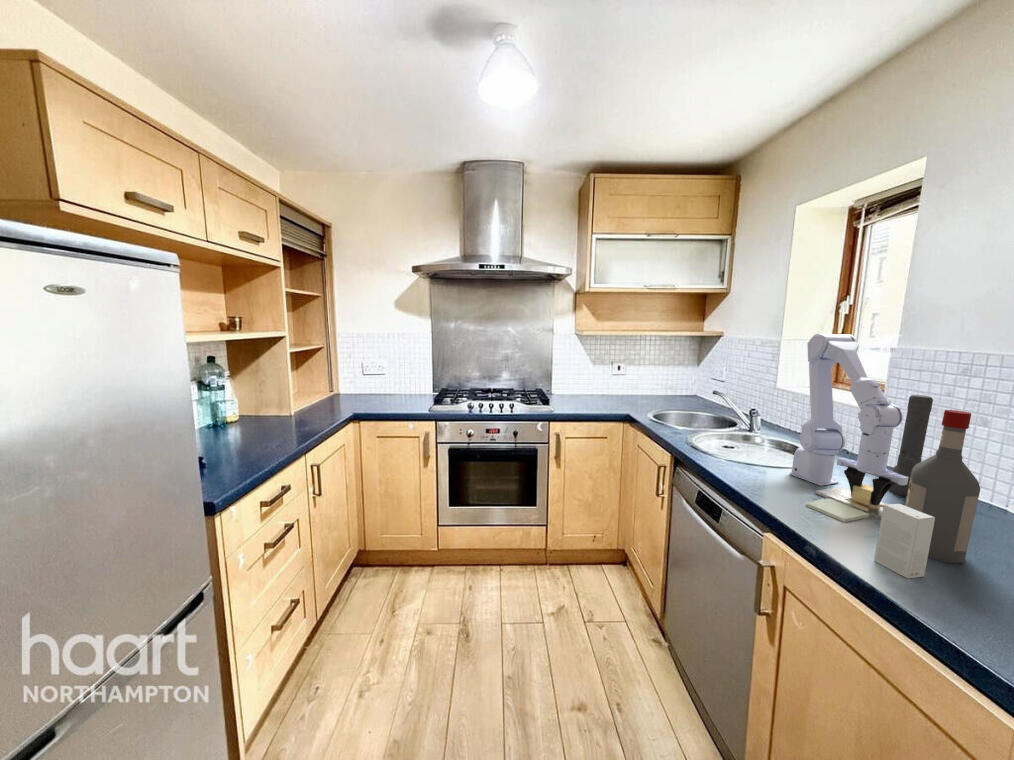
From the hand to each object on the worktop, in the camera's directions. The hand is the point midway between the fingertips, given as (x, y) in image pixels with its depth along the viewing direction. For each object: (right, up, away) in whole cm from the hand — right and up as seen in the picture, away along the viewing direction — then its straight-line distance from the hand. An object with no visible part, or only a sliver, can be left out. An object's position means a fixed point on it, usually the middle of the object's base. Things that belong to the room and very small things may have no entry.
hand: (865, 500), depth 106 cm
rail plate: (0, -1, 0) cm, 1 cm away
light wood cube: (0, -1, 0) cm, 1 cm away
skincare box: (-18, -5, -27) cm, 33 cm away
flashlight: (+20, -1, +10) cm, 22 cm away
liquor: (-4, -5, -20) cm, 21 cm away
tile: (-10, -2, -4) cm, 11 cm away
